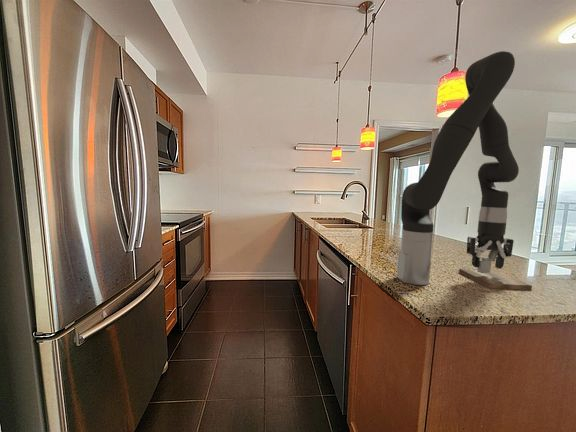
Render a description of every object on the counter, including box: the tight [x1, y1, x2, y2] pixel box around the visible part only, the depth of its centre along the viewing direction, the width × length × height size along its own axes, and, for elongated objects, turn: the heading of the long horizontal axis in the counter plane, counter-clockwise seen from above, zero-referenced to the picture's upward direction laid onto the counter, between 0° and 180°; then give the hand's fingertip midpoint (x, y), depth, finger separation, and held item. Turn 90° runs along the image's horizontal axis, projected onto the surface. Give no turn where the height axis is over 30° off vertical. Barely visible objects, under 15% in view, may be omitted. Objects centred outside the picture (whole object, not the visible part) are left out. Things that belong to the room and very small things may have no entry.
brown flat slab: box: [458, 268, 533, 291], centre depth 90 cm, size 13×16×2 cm
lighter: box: [477, 250, 498, 273], centre depth 90 cm, size 7×2×8 cm, turn 108°
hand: (487, 267), depth 90 cm, fingers closed on lighter, 7 cm apart
